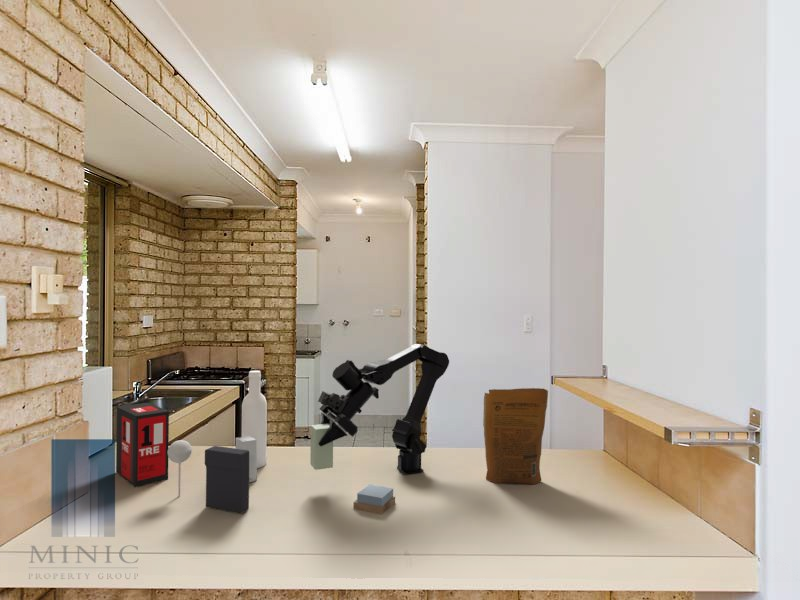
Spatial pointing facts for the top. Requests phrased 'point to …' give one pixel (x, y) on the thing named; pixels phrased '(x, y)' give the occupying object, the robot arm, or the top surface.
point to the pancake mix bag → (514, 434)
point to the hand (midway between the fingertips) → (316, 442)
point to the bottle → (255, 417)
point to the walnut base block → (373, 506)
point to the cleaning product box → (142, 443)
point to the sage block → (320, 448)
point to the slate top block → (375, 495)
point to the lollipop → (179, 454)
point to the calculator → (227, 479)
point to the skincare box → (249, 445)
